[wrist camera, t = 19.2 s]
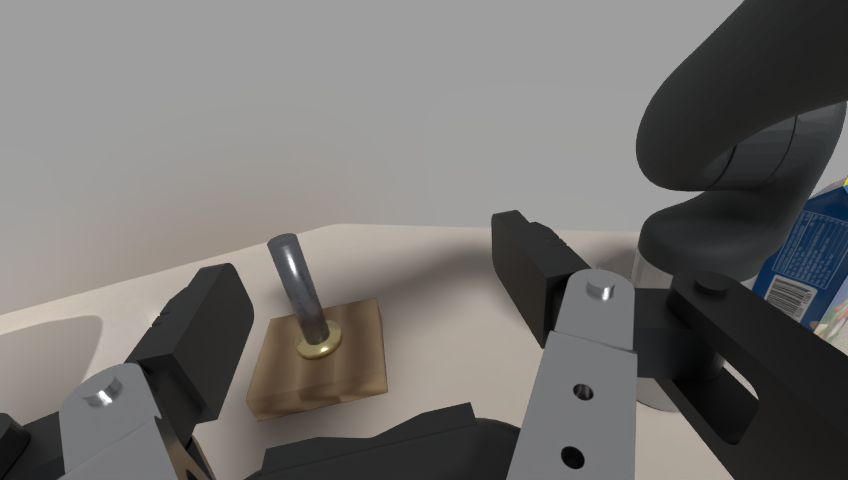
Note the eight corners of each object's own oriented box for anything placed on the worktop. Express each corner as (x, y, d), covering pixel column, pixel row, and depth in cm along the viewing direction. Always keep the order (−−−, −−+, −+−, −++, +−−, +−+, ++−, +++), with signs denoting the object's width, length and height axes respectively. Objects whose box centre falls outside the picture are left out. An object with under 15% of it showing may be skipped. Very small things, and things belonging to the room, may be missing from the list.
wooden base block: (381, 317, 56) (376, 297, 54) (387, 392, 44) (382, 370, 42) (279, 338, 55) (270, 319, 53) (257, 421, 43) (245, 400, 41)
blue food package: (838, 337, 43) (973, 130, 31) (786, 382, 39) (917, 165, 27) (774, 308, 48) (868, 120, 36) (722, 346, 44) (807, 148, 32)
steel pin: (349, 342, 52) (312, 223, 42) (348, 375, 47) (305, 249, 37) (309, 351, 52) (261, 233, 42) (303, 385, 47) (247, 259, 37)
